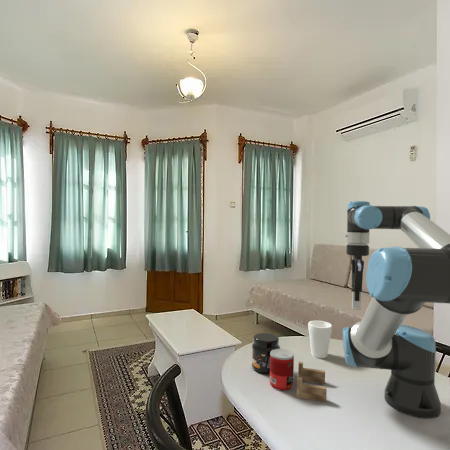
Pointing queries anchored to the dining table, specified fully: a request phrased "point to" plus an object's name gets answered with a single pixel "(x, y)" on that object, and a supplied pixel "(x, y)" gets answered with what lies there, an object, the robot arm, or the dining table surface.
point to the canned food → (281, 369)
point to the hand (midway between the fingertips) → (356, 309)
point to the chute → (311, 390)
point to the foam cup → (319, 338)
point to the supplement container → (263, 351)
